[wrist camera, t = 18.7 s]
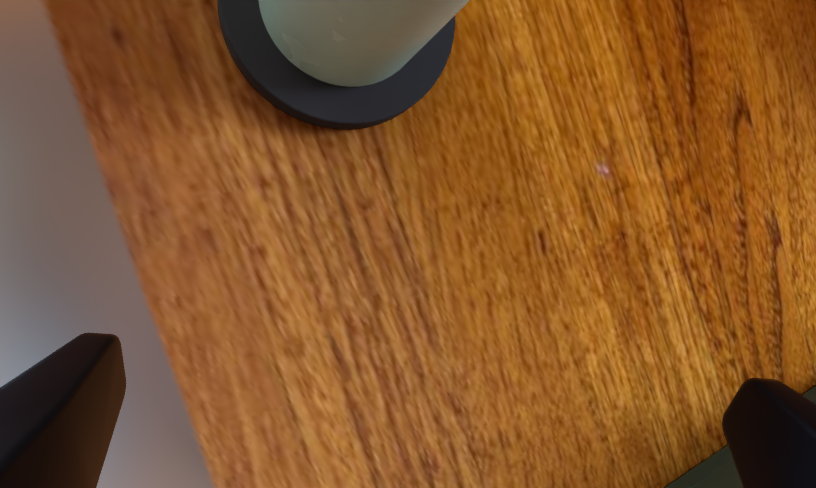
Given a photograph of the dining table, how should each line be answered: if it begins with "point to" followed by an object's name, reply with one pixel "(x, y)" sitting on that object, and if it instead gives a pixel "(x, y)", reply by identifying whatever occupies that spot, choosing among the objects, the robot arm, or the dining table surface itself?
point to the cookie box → (718, 467)
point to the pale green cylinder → (354, 35)
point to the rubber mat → (320, 98)
